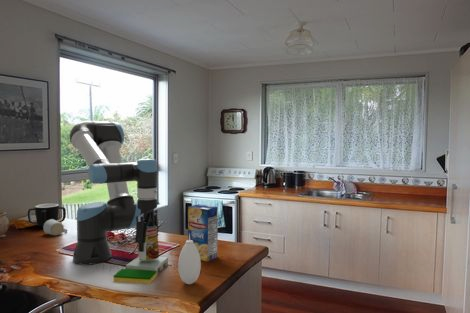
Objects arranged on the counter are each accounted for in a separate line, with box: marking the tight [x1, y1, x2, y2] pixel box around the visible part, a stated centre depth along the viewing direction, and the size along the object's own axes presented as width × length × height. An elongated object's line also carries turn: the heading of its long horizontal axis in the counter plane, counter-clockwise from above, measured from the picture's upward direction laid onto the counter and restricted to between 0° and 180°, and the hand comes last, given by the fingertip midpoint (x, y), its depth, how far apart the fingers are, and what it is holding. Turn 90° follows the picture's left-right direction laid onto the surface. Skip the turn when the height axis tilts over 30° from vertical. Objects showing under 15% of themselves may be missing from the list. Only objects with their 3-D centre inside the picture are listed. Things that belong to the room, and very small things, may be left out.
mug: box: [27, 203, 67, 228], centre depth 205 cm, size 16×16×12 cm
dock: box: [125, 255, 169, 275], centre depth 140 cm, size 12×12×3 cm
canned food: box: [137, 225, 160, 261], centre depth 139 cm, size 8×8×12 cm
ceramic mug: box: [42, 219, 68, 237], centre depth 188 cm, size 11×8×8 cm
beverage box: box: [187, 203, 219, 262], centre depth 153 cm, size 7×11×22 cm, turn 56°
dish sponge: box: [112, 268, 158, 285], centre depth 130 cm, size 7×14×2 cm, turn 82°
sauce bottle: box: [177, 233, 202, 285], centre depth 125 cm, size 8×8×18 cm
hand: (147, 255), depth 139 cm, fingers closed on canned food, 8 cm apart
